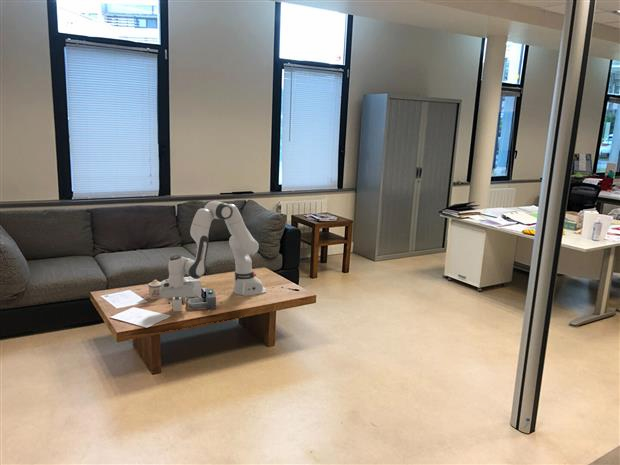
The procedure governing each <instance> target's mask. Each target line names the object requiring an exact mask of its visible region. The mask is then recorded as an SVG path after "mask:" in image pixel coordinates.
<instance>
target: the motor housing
mask: <svg viewBox="0 0 620 465" xmlns="http://www.w3.org/2000/svg"><path fill="white" fill-rule="evenodd" d="M204 292H206V302H203V298H202V297H189V298H188V299H187V305H188V309H189V311H191V310H198V309H199V310H201V309H207V311H210V310H217V296H216V293H215V291H214V288H205V289H204Z"/></svg>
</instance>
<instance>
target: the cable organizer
mask: <svg viewBox="0 0 620 465" xmlns="http://www.w3.org/2000/svg"><path fill="white" fill-rule="evenodd" d="M184 281H191V283H192V282H193V283H194V287H193V291H194V295H193V296H188V298H199V296H201V295H202V281H201V279H194V278H192V277H191V276H184ZM181 299H182V300H185V297H181Z"/></svg>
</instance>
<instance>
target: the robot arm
mask: <svg viewBox="0 0 620 465" xmlns="http://www.w3.org/2000/svg"><path fill="white" fill-rule="evenodd" d="M215 219H217V220H220V221H221V220H222V221H223V220H224V222H225V225H226V227H227V230H228V231H229V234H230V235H231V236H230V237H229V240H228V244H229V247H230V248H231V251H232V253H233V257H234V265H235V271H234V286H233V288H232V293H233V294H236V295H240V296H244V297H247V296H254V295H255V296H256V295H261V294H266V292H267V288H266V287H265V286H263V282H262V281H261V280H260V279H259V278H257V277H256V276H257V273H255V272H254V271H253V269H252V268H253V264H252V263H253V261H252V258H251V256H250V255H255V254H256V253H258V251H259V247H260V246H259V245H260V244H259V242H258V241H257V239H255V238H254V236H252V234H251V232H250V231H249V229H248V228H247V226H246V224H245V221H244V219H243V217H242V214H241V212H240V211H239V209H238V207H237V206H236V205H235V204H233V203H226V202H223V201H218V200H207V201H206V202H205V203H204V204H203V206H202V207H201V208H198V210H197V211H196V213H195V215H194V217H193V219H192V223H191V226H190V228H189V229H190V230H189V233H190V237H191V238H192V240H194V242H195V243H196V246H197V248H196V252H195V253H196V255H195V259H193V258H189V257H188V258H187V257H184V256H182V255H181V254H177V255H172V256H171V257H170V258H169V260H168V274H169V275H168V278H167V279H163V280H161V281H160V282H161V287H160V293H159V296H160V299H165V301H166V302H167V305H171V300H169V298H174V297H185V299H182V300H183V304H187V301H188V296H193V295H194V291H193V287H194V283H193V282H192V283H191V281H184V277H185V276H186V275H187V276H188V277H192V278H194V279H198V280H200V279H201V278H202V277H203V276H204V275H205V274H206V261H207V255H208V249H209V242H210V241H209V232H210V227H211V225H212V224H211V223H212V222H213V220H215Z"/></svg>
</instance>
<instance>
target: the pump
mask: <svg viewBox="0 0 620 465" xmlns="http://www.w3.org/2000/svg"><path fill="white" fill-rule="evenodd" d="M182 300H183V299H182V298H181V297H172V310H173V312H180V311H182V308H183V306H182V305H183V304H182V303H183V302H182Z"/></svg>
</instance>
